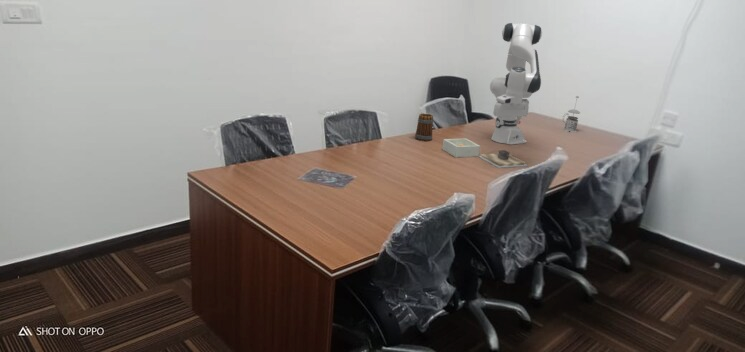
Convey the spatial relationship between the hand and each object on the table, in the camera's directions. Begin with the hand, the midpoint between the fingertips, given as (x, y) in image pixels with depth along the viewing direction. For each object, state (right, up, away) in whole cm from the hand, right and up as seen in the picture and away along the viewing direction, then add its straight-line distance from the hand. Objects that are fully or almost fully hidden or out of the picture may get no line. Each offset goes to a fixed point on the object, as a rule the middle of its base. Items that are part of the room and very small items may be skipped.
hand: (508, 124), depth 268 cm
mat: (-2, -20, +7) cm, 21 cm away
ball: (-23, -12, +15) cm, 30 cm away
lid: (-2, -19, +7) cm, 20 cm away
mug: (-41, -4, +40) cm, 58 cm away
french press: (+67, +5, +90) cm, 113 cm away
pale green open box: (-23, -14, +16) cm, 32 cm away
